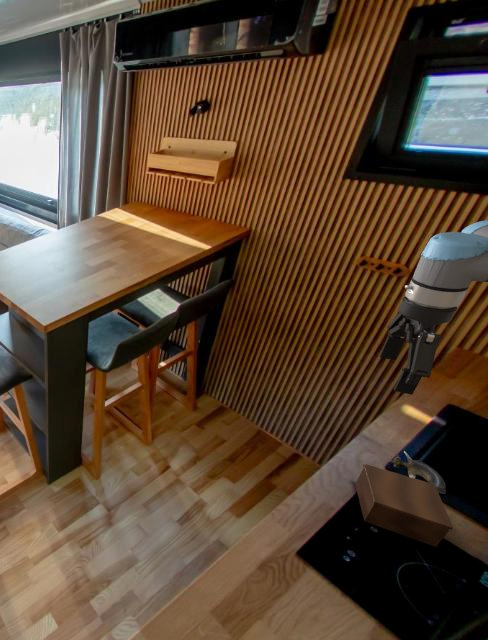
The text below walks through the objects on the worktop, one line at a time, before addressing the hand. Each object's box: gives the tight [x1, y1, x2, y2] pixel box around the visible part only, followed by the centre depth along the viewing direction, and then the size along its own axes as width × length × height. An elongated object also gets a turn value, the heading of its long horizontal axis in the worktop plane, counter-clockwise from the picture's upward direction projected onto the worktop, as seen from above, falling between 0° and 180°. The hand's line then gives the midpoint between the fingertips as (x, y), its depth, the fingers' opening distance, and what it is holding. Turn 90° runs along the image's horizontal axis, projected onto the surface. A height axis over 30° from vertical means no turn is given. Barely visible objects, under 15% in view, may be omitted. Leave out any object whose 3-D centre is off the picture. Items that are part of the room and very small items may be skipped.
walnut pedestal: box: [355, 463, 454, 548], centre depth 86 cm, size 11×11×8 cm
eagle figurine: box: [390, 450, 447, 495], centre depth 92 cm, size 8×7×9 cm
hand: (394, 374), depth 88 cm, fingers open, 13 cm apart
